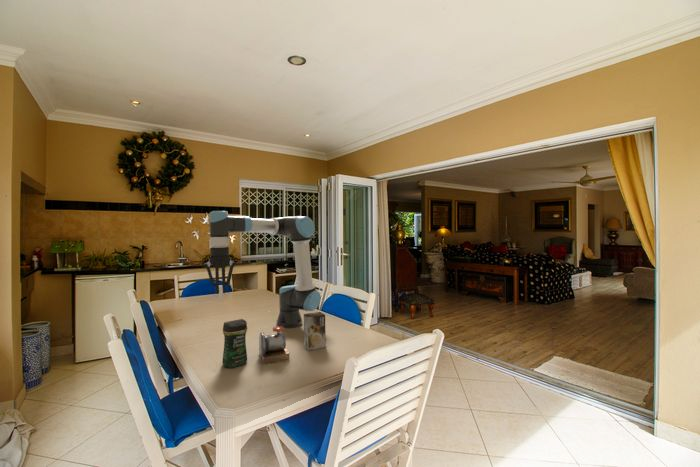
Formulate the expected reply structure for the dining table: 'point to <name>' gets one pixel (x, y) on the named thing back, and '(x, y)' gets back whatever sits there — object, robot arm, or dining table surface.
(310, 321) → the coffee box
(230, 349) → the coffee jar
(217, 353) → the dining table surface
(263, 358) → the valve stub
